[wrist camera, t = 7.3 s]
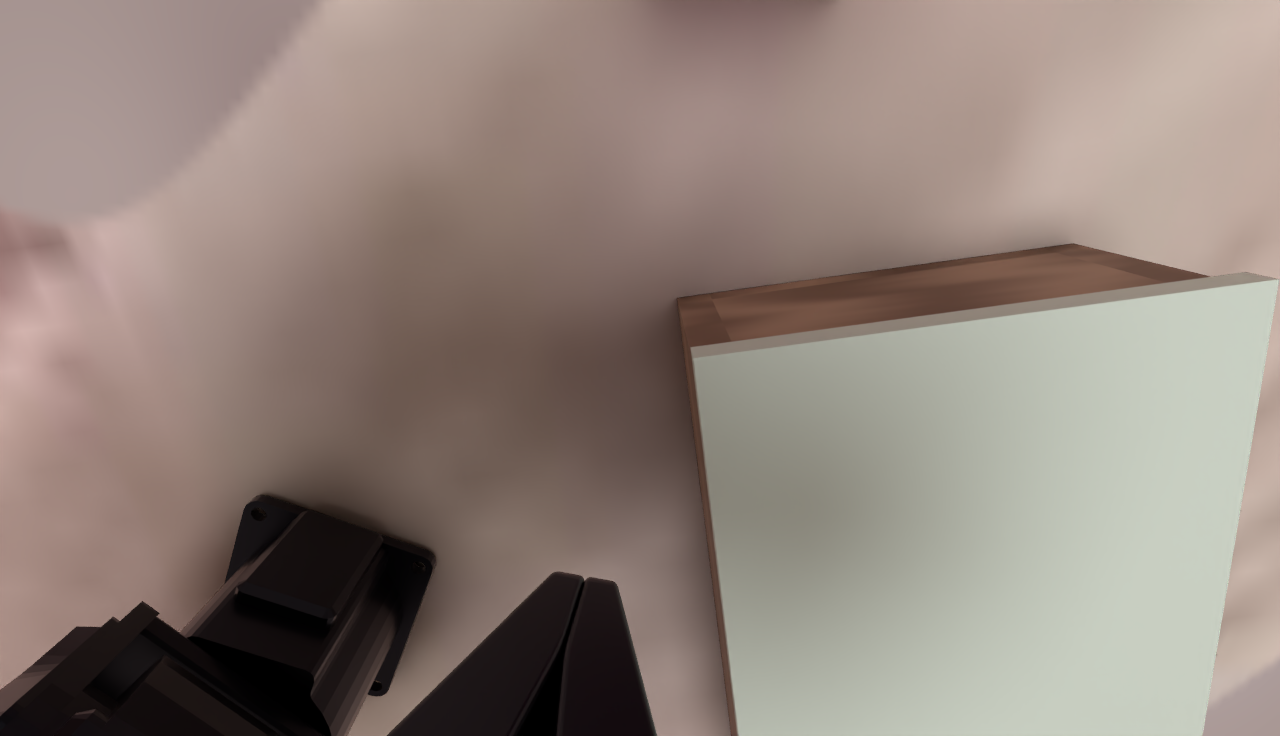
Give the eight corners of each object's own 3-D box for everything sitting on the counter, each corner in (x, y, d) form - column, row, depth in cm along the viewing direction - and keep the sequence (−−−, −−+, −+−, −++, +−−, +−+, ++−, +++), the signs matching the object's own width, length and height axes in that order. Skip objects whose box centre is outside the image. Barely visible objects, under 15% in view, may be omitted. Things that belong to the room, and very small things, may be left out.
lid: (757, 906, 21) (762, 934, 20) (690, 347, 15) (693, 358, 14) (1156, 864, 21) (1176, 892, 20) (1245, 272, 15) (1278, 279, 14)
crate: (732, 742, 26) (756, 900, 21) (676, 297, 21) (691, 355, 15) (1041, 708, 26) (1150, 860, 21) (1073, 243, 20) (1235, 282, 15)
